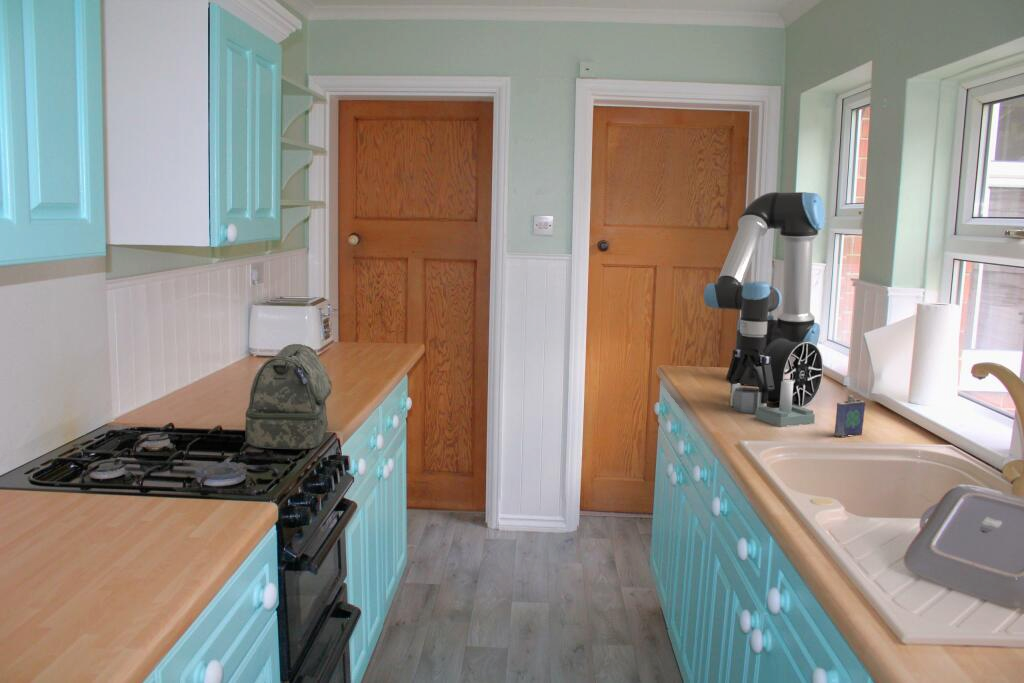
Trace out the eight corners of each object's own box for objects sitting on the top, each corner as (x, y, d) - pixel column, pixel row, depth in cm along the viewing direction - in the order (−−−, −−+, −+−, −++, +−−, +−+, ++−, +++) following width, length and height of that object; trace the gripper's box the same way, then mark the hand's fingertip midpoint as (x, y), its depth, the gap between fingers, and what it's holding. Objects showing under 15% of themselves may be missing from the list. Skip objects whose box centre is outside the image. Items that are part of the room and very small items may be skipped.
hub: (749, 406, 253) (750, 386, 252) (768, 412, 246) (769, 392, 245) (728, 408, 250) (729, 388, 249) (746, 414, 242) (747, 393, 241)
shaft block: (788, 415, 242) (791, 377, 241) (814, 423, 234) (817, 384, 232) (755, 418, 237) (758, 380, 236) (780, 426, 228) (783, 386, 227)
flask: (839, 438, 218) (842, 397, 217) (830, 435, 221) (833, 395, 219) (864, 434, 222) (868, 394, 221) (855, 432, 225) (859, 392, 223)
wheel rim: (780, 411, 247) (785, 344, 244) (754, 405, 254) (759, 339, 251) (820, 404, 259) (825, 339, 256) (794, 398, 266) (799, 335, 263)
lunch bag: (321, 452, 193) (320, 358, 190) (239, 453, 191) (237, 357, 188) (334, 425, 218) (334, 341, 215) (262, 424, 217) (261, 340, 214)
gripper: (716, 330, 253) (712, 402, 256) (770, 341, 232) (765, 419, 236) (736, 329, 256) (732, 400, 260) (791, 340, 236) (785, 417, 239)
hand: (747, 409), depth 248 cm, fingers open, 11 cm apart
